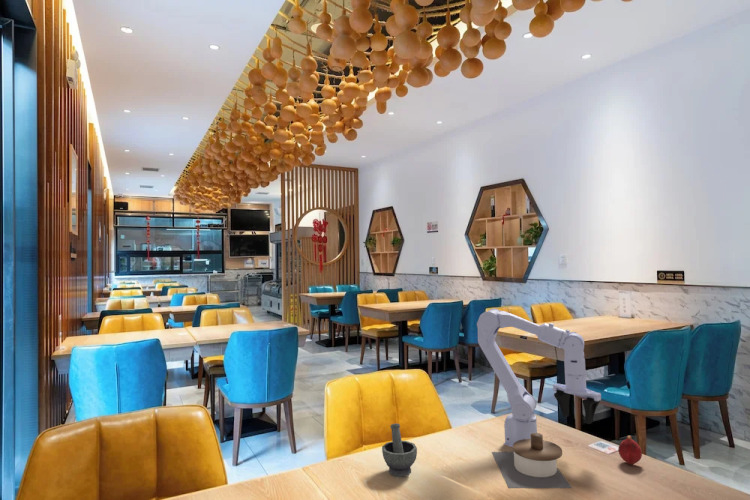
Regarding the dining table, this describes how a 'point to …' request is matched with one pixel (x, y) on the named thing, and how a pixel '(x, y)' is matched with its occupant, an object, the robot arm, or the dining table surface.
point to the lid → (537, 448)
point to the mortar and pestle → (399, 454)
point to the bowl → (535, 467)
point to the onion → (630, 451)
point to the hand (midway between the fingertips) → (577, 419)
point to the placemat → (523, 481)
